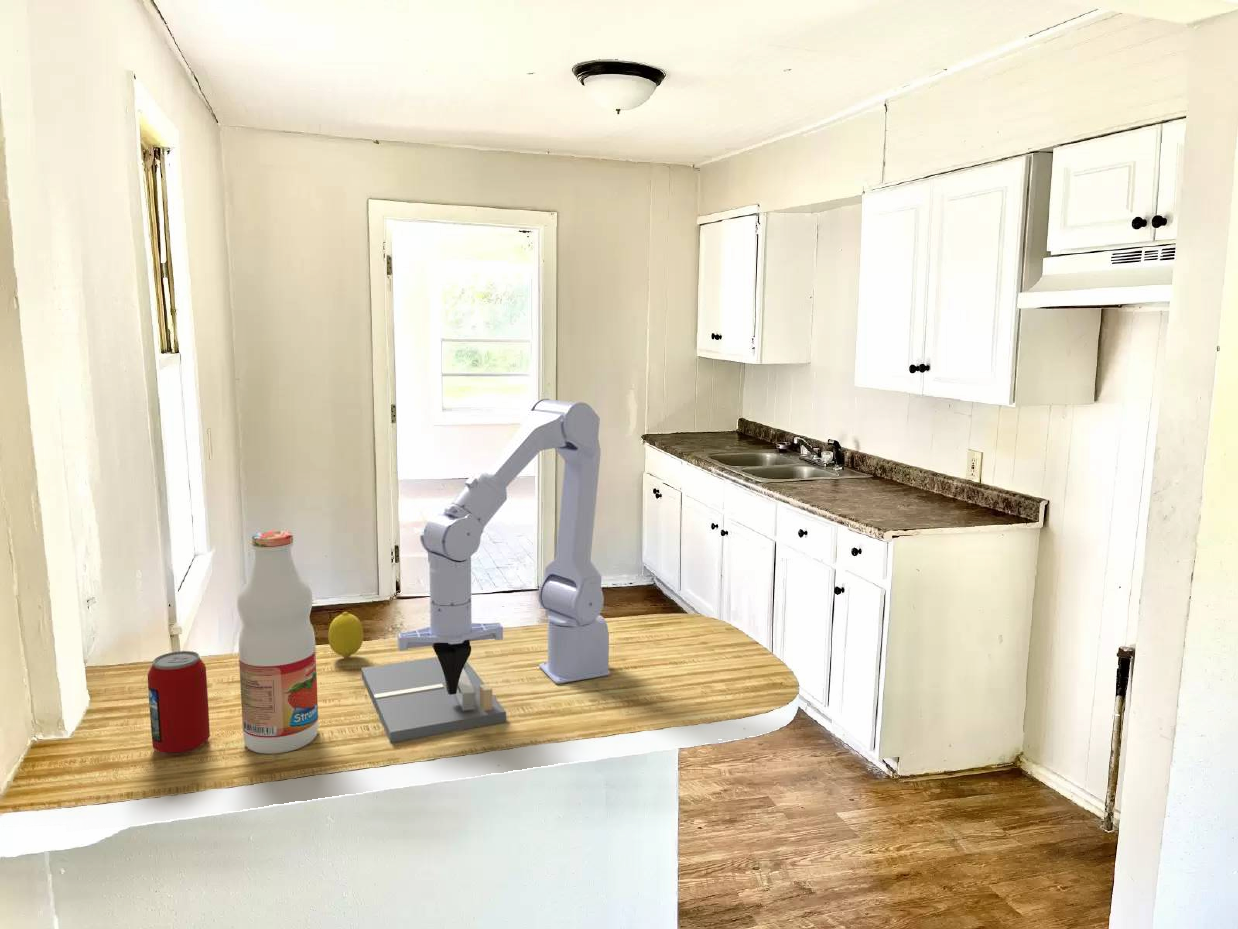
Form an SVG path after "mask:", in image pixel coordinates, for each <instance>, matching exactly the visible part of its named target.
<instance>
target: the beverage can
mask: <svg viewBox="0 0 1238 929" xmlns="http://www.w3.org/2000/svg"><path fill="white" fill-rule="evenodd" d="M206 667H207V666H206V664H205V663H204V662H203V659H201V658H200V654H199V653H198V652H197V651H196V652H195V651H191V650H182V651H181V650H180V651H179V650H178V651H172V652H167V653H164V654H162V655H159V656H157V657H155V658H154V659H153V661H152V666H151V667H150V669H149V670H148V672H147V688H148V689H147V691H148V703H149V704H148V706H149V718H150V729H151V731H150V733H151V741H152V743H151V744H152V747H153V749H154V750H155V751H157V752H158V753H159V752H160V753H163V754H166V755H170V756H171V755H172V756H177V755H183V754H188V753H191V752H193V751H195V750H197V749H199V748H200V747H201V746H202V745H204V744H205V743H206V742H207V741H208V740H209V739H210V736H211V734H210V733H211V732H210V731H211V730H210V715H209V714H210V713H209V694H208V692H209V691H208V680H207V668H206Z"/></svg>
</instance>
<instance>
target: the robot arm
mask: <svg viewBox="0 0 1238 929" xmlns="http://www.w3.org/2000/svg"><path fill="white" fill-rule="evenodd" d="M600 421H601V418H600V416H599V415H598V414H597V413H596V412H595V410H594V409H593V408H592V407H591V406H590V404H588V403H587V402H583V401H580V402H579V401H578V402H573V401H566V400H565V401H563V400H555V399H549V398H546V397H545V398H540V399H538V400H536V401H534V402H533V404H531V406H530V408H529V410H528V411H526V412H525V413H524V414H523V415H522V420H521V425H520V427H519V429H518V430H517V431H516V433H515V434H514V436H513V437H512V439H511V440H510V441H509V442H508V443H507V445H506V446H505V448H504V450H503V451H502V453H501V454H500V455H499V456H498V457H497V459H496V461H495V462H494V463H493V465H492V466H491V467H490V469H489V470H488V471H487V472H485V473H476V474H475V475H474V476H473V477H468V478H467V480H466V481H465V482H464V485H465V486H464V488H463V489H462V490H461V491H460V493H459V494H458V495H457V496H456V497H455V498H454V500H453V501H452V502H451V503H450V504H448V505H446V507H445V508H444V511H443V513H439V514H438V515H434V516H433V517H432V518H430V519H429V520H428V521H427V523H426V525H425V526H424V529H423V532H422V533H423V534H420V535H419V540H420V543H421V544H420V545H421V546H422V548H423V549H424V550H425V551H426V553H427V561H428V563H429V605H430V606H429V607H430V608H429V611H430V612H429V614H430V615H429V618H430V619H429V620H430V626H428V627H423V628H418V629H415V630H411V631H404V632H398V633H397V647H398V649H399V651H400V652H401V651H402V652H404V651H408V649H413V648H414V649H415V648H424V647H430V646H431V647H432V648H433V651H434V653H435V655H436V657H438V659H439V662H440V664H441V667H442V670H443V673H444V677H445V681H446V687H447V691H448V694H449V695H452V694H457V687H458V682H459V679H460V675H461V672H462V670H463V667H464V665H465V663H466V661H467V662H468V659H469V657H470V656H471V653H472V646H471V642H477V641H485V640H486V641H487V640H495V641H501V640H503V639H504V627H503V625H502V623H501V622H486V623H485V622H484V623H483V622H472V556H473V555H474V554H475V553H476V552H477V551H478V549H479V547H480V545H481V544H480V543H481V537H482V534H484V530H485V527H486V526H487V525H488V523H489V522H490V521H491V520H492V518H493V517H494V516H495V515H496V514H497V512H498V511H499V510H500V508H502V506H503V504H505V502H506V501H507V499H508V495H507V493H508V492H507V487H509V485H510V484H511V483H512V482H513V481H514V480H515V478H517V476H519V475H520V473H521V472H522V471H523V470H525V468H526V467H527V466H528V465H529V463H530V462H532V461H533V459H534V458H535V457H537V455H538V454H539V453H540V452H541V451H545V450H551V449H554V450H555V452H557V454H558V455H560V457H561V458H562V459H563V460H564V468H563V480H562V490H561V500H560V512H559V522H558V532H557V534H558V535H557V543H556V555H555V558H554V559H553V560H552V561H551V562H549V563H548V564H547V565H546V566H545V567H544V575H543V578H542V581H541V583H540V586H539V588H538V593H537V596H538V598H537V599H538V602H539V605H540V606H541V607H542V609H543V610H545V617H546V618H547V662H541V663H539V665H538V666H539V668H540V669H541V670H542V671H543V672H544V673H545V674H546V675H547V676H548V677H549V679H551V681H553V682H554V683H555V684H557V685H559V684H563V683H571V682H575V681H582V680H586V679H587V680H588V679H593V678H594V679H595V678H601V677H605V676H610V675H611V670H609V665H610V664H609V662H610V661H609V660H610V633H609V628H608V623H607V621H606V619H605V618H604V617H603V616H602V615H601V613H602V610H603V608H604V602H605V599H604V598H605V597H604V592H603V590H602V575H601V574H600V573H599V571H598V569H597V568H596V567H595V566H594V564H593V562H592V561H591V559H592V558H591V557H592V547H593V546H592V545H593V536H594V528H595V527H594V526H595V516H596V515H595V514H596V508H597V507H596V505H597V493H598V483H599V474H600V462H601V445H600V440H599V432H600Z"/></svg>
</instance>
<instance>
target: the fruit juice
mask: <svg viewBox="0 0 1238 929" xmlns="http://www.w3.org/2000/svg"><path fill="white" fill-rule="evenodd" d="M293 543H294V536H293V534H292V533H291V532H290V531H286V530H269V531H262V532H258V533H256V534H253V535H252V536H251V546H252V550H254V553H255V557H254V563H253V567H252V571H251V574H250V576H249V579H248V580H247V582H246V583H245V584H244V585H243V587H242V588H241V590H240V592H239V594H238V597H237V607H236V608H237V612H238V615H239V618H240V621H241V624H242V626H241V631H240V634H239V635H238V636H239V637H238V662H239V664H238V666H239V684H240V703H241V718H242V720H241V721H242V737H243V738H242V739H243V742H244V745H245V747H246V748H247V749H248V750H250V751H252V752H255V753H259V754H267V755H273V754H274V755H275V754H283V753H288V752H292V751H295V750H299V749H301V748H303V747H306V746H308V745H309V744H310V743H312V742H313V741H314V740H315V738H316V737H317V735H318V733H319V704H318V703H319V702H318V679H317V678H318V677H317V676H318V675H317V655H316V653H317V649H316V646H317V645H316V636H315V630H314V627H313V625H312V623H311V619H310V614H311V613H312V612H311V611H312V606H313V602H314V601H313V594H312V590H311V588H310V586H309V584H308V583H307V582H306V580H304V578H302V576H301V575H300V573H298V569H297V568H296V566H295V563H294V561H293V560H294V559H293V556H292V551H291V550H292V547H293V546H294V544H293Z"/></svg>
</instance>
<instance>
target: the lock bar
mask: <svg viewBox="0 0 1238 929" xmlns="http://www.w3.org/2000/svg"><path fill="white" fill-rule="evenodd" d="M455 695H456V697H457V699H458V701H459V704H460V706H461V708H462V711H464V710H472V709H475V691H474V689H473V686H472V684H471V682H470V680H469V678H468V676H467V674H466V672H465V665H464V667H463V670H462V672H461V675H460V679H459V682H458V687H457V694H455Z"/></svg>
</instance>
